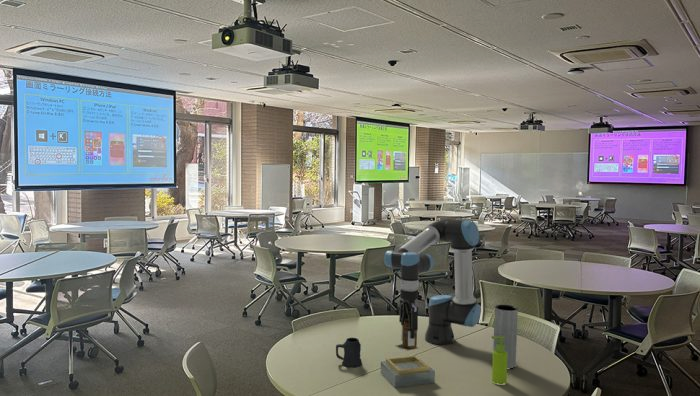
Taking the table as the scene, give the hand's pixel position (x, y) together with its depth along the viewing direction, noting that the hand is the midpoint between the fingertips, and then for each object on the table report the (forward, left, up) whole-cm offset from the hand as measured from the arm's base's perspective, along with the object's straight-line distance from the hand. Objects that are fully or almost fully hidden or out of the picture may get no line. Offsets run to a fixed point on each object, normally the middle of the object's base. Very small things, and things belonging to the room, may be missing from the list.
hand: (407, 342), depth 224 cm
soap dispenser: (-35, +15, -16) cm, 41 cm away
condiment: (0, 0, -2) cm, 2 cm away
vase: (-49, -1, -16) cm, 51 cm away
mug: (+19, -22, -16) cm, 33 cm away
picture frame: (0, -2, -15) cm, 15 cm away
